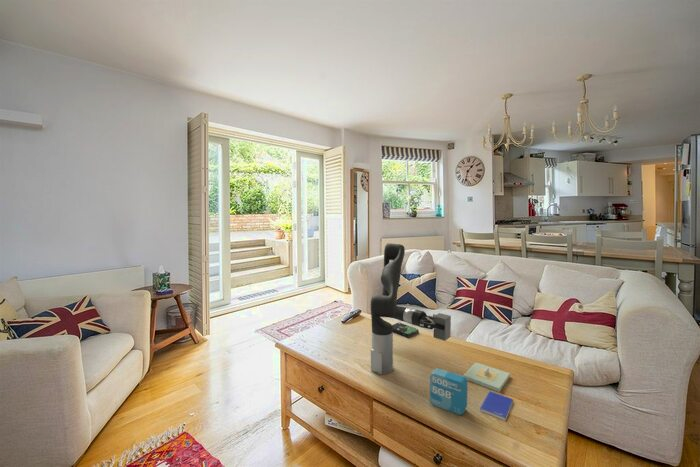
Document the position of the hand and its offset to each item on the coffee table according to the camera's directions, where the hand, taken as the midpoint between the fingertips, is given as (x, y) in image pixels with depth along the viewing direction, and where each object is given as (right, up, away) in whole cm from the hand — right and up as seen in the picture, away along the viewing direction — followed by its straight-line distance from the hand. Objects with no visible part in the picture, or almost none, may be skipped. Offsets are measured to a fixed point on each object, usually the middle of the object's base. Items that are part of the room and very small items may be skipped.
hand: (447, 325), depth 136 cm
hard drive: (+9, -21, -28) cm, 36 cm away
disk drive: (-13, -16, +38) cm, 43 cm away
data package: (-9, -21, -28) cm, 36 cm away
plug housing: (-2, -6, +2) cm, 7 cm away
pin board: (+13, -19, -10) cm, 25 cm away
